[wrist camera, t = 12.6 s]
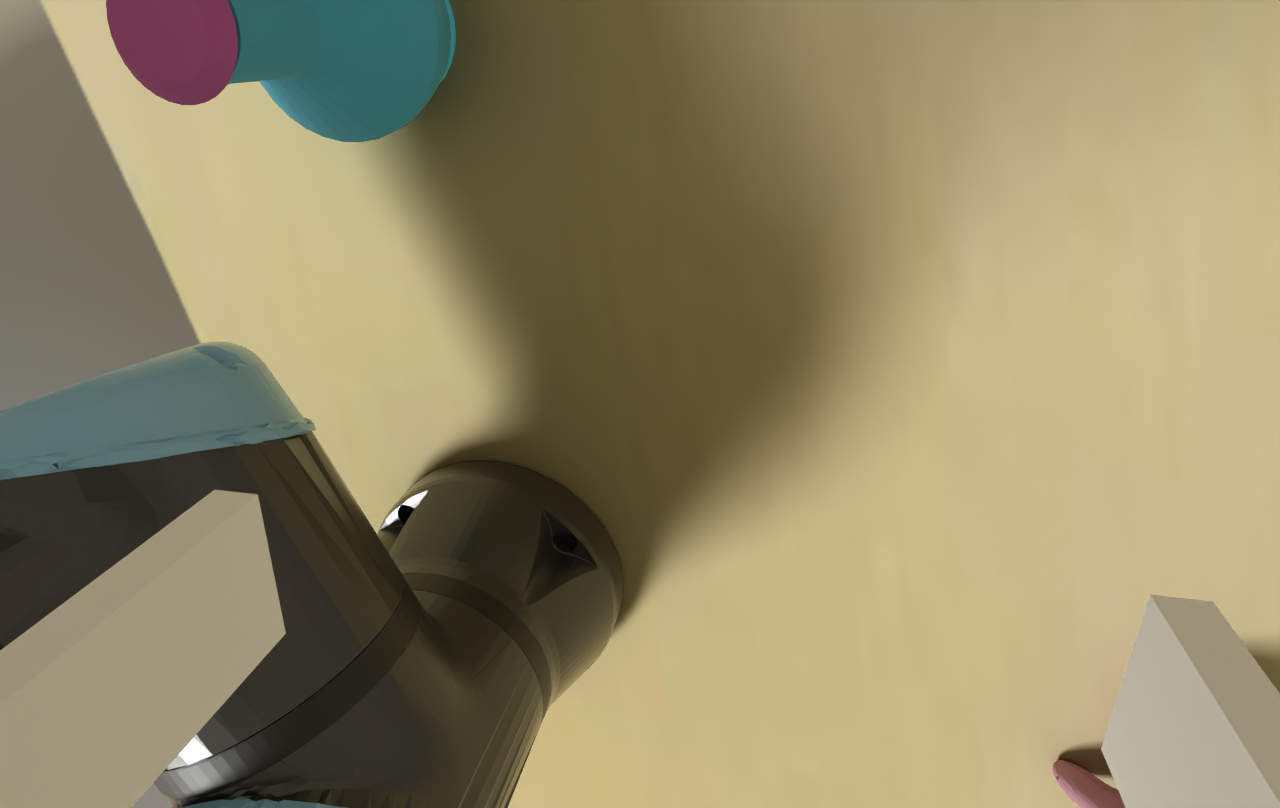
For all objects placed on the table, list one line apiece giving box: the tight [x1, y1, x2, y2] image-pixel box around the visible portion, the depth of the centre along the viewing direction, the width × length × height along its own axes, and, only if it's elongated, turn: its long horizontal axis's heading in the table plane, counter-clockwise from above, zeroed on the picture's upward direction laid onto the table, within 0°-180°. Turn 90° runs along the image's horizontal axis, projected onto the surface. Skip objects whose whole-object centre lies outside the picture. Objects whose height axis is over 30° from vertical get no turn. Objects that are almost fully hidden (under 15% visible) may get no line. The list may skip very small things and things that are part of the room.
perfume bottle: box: [106, 0, 456, 142], centre depth 32 cm, size 9×9×15 cm
